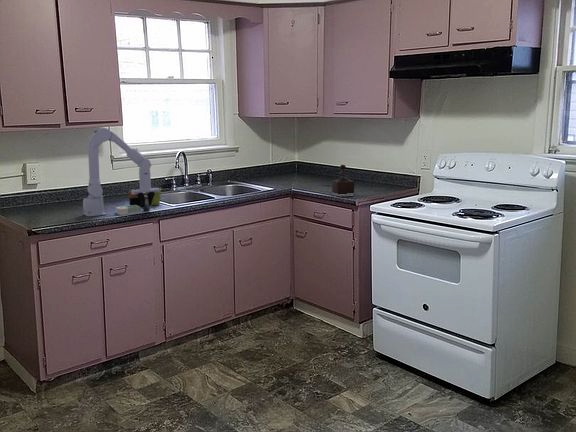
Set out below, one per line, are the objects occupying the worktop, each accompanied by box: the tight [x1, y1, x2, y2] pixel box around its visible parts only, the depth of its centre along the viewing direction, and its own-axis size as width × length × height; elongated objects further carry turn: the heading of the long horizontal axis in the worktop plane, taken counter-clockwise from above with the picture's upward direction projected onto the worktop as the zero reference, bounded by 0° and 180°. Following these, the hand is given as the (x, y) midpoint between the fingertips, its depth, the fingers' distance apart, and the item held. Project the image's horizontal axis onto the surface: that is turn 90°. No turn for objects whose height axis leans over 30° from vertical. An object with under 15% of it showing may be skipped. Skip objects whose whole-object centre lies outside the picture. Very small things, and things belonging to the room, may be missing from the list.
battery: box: [128, 188, 143, 209], centre depth 315 cm, size 4×7×10 cm, turn 119°
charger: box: [114, 204, 143, 216], centre depth 301 cm, size 11×8×3 cm
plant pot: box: [145, 187, 163, 206], centre depth 324 cm, size 9×9×9 cm
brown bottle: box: [331, 164, 355, 194], centre depth 355 cm, size 16×11×18 cm
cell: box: [142, 195, 150, 212], centre depth 307 cm, size 3×3×8 cm
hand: (146, 206), depth 307 cm, fingers closed on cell, 3 cm apart
